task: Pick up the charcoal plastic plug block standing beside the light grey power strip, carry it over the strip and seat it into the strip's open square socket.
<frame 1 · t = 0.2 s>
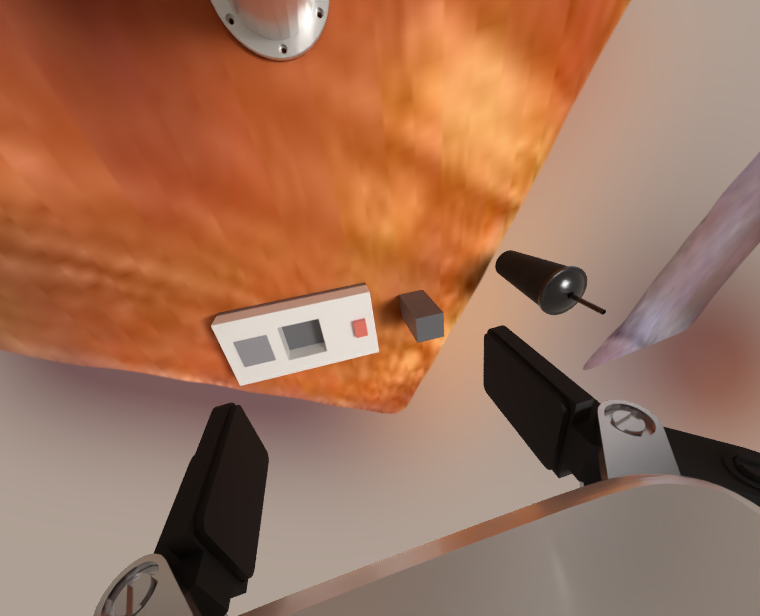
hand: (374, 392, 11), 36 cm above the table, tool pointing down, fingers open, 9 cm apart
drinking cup: (506, 262, 53), on the table
plug: (411, 303, 52), on the table
power strip: (303, 327, 50), on the table
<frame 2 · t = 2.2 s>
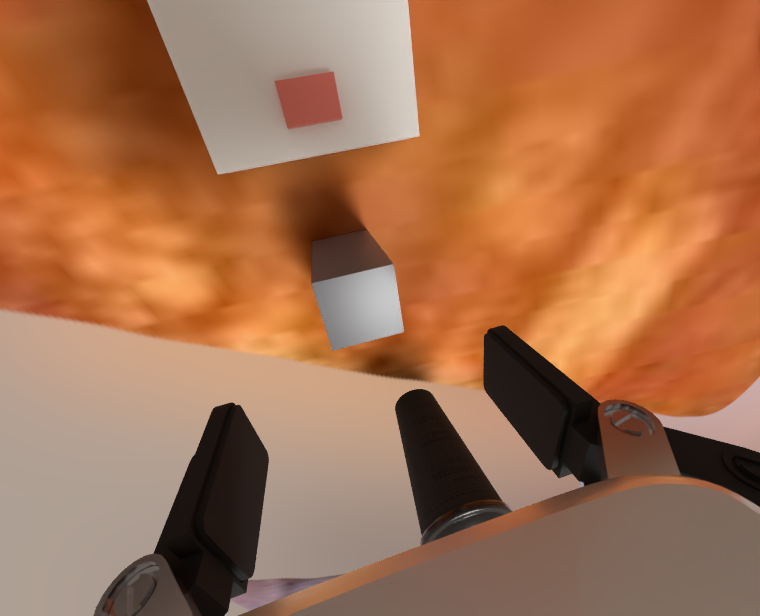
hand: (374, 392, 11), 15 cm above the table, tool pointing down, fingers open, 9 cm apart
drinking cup: (414, 403, 34), on the table
plug: (345, 261, 24), on the table
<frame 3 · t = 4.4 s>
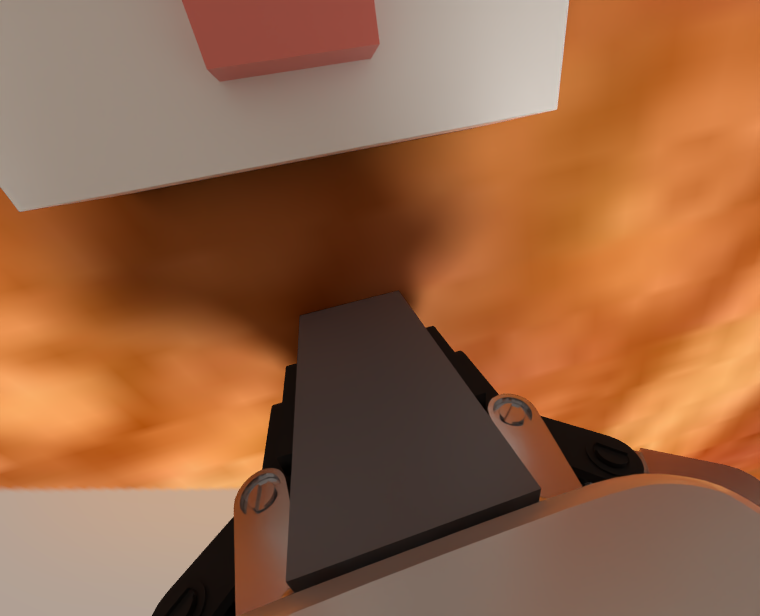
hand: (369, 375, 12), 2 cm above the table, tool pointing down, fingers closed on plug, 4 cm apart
plug: (360, 343, 14), on the table, touching gripper
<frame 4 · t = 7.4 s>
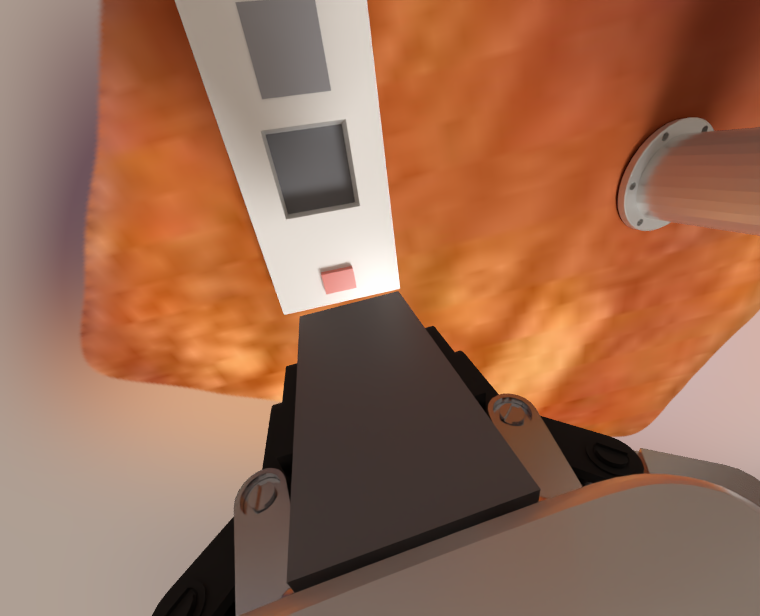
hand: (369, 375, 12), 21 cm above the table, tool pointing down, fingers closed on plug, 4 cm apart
plug: (360, 344, 14), point 19 cm above the table, touching gripper
power strip: (313, 170, 27), on the table
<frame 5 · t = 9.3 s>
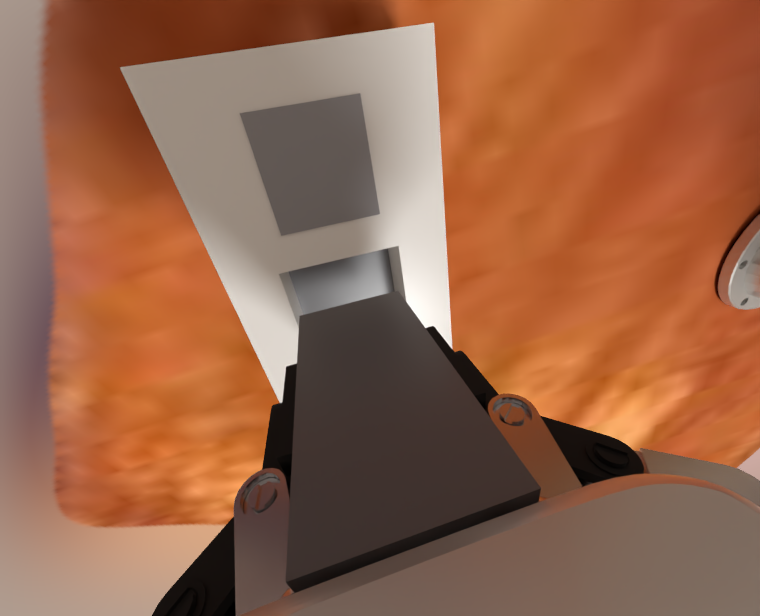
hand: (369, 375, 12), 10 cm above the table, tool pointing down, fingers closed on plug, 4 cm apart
plug: (360, 343, 14), point 7 cm above the table, touching gripper
power strip: (345, 286, 20), on the table
when the fingers open (5 cm above the table, at t = 10.7 s): plug drops 2 cm, resting on power strip.
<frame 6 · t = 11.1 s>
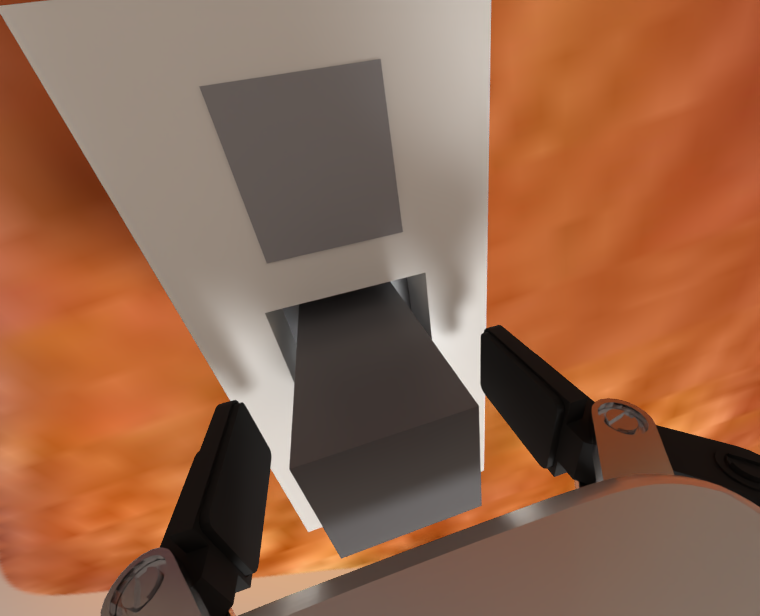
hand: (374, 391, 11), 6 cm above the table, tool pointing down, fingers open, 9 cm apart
plug: (353, 324, 15), point 1 cm above the table, touching power strip
power strip: (351, 315, 16), on the table
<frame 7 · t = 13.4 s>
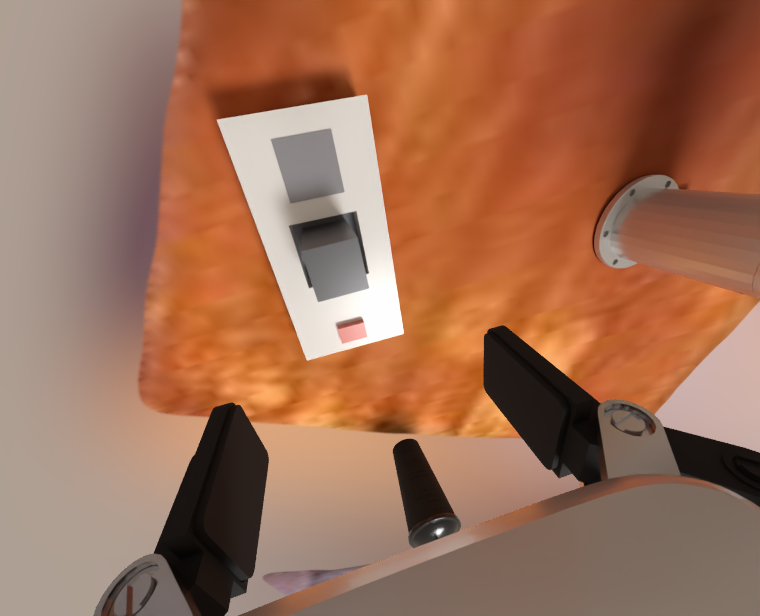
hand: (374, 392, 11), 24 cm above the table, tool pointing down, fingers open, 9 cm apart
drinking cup: (405, 446, 51), on the table
plug: (329, 244, 31), point 1 cm above the table, touching power strip
power strip: (328, 241, 32), on the table
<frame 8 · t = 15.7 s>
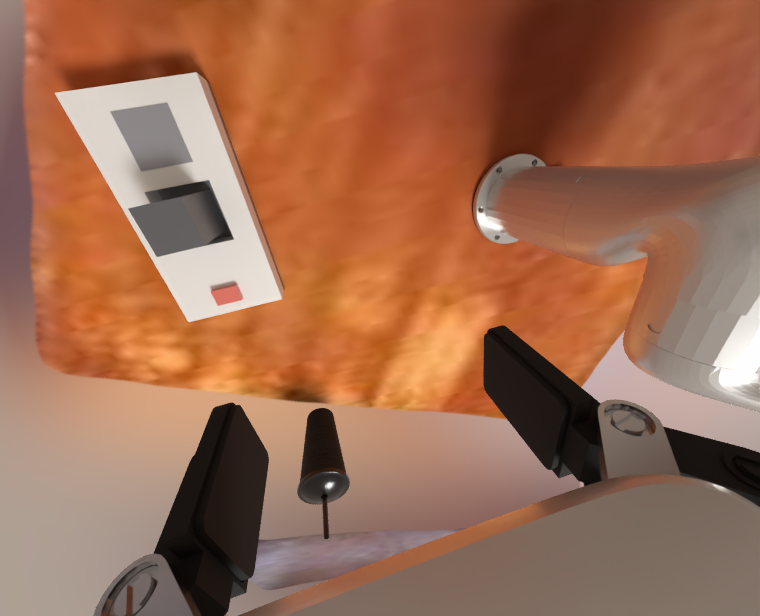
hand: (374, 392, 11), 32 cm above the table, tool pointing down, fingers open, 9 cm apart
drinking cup: (320, 416, 54), on the table
plug: (200, 213, 34), point 1 cm above the table, touching power strip
power strip: (203, 212, 35), on the table
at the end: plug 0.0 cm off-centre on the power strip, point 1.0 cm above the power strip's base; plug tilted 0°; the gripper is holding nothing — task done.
